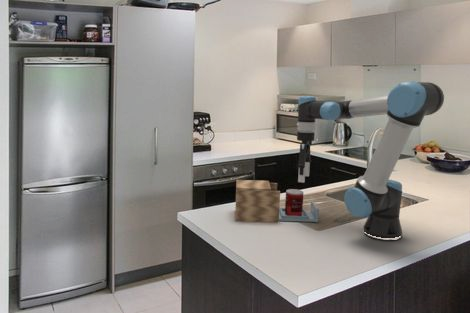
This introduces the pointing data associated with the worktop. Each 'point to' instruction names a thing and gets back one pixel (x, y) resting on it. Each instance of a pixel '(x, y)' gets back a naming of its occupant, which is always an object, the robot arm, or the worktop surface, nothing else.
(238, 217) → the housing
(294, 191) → the canned food
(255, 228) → the worktop surface
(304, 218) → the tray
